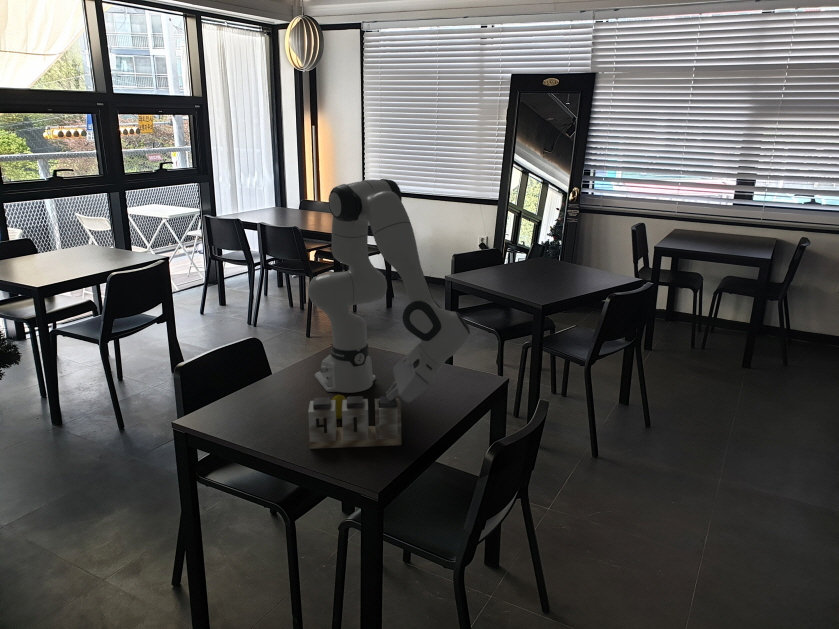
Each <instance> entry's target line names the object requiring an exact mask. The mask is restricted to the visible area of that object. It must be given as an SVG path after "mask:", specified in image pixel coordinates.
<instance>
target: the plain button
mask: <svg viewBox="0 0 839 629" xmlns="http://www.w3.org/2000/svg"><path fill="white" fill-rule="evenodd" d="M396 398H397V397H395V398H394V399H393V400H391V401H390V400H389V399H387V396H386V395H380V396H379V399H380V408H391V407H396Z"/></svg>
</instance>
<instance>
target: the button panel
mask: <svg viewBox="0 0 839 629" xmlns="http://www.w3.org/2000/svg"><path fill="white" fill-rule="evenodd" d="M395 398H396V407H391V408H380V398H374V414H375V415H374V417H375V418H374V422H375V425H370V426H369V400H368V399H369V398H364V396H361V395H359V396H347V397H346V399H347V400H343V402H342V418H341V420H342V422H341V423H342V427H341V426H340V427H339V426H338V425H337V418H336V400H332V399H331V397H330V396H328V397H327V396H326V397H314V398H313V400H310V401H309V406H308V410H307V415H308V433H309V449H311V450H312V449H337V448H360V447H362V448H363V447H387V446H388V447H389V446H390V445H391V446H403V445H402V444H403V443H402V406H401V397H395ZM337 426H338V427H337ZM391 446H390V447H391Z"/></svg>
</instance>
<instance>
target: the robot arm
mask: <svg viewBox="0 0 839 629" xmlns="http://www.w3.org/2000/svg"><path fill="white" fill-rule="evenodd" d="M402 198H403V196H402V191H401V189H400V186H399V184H397V182H396V181H394V180H392V179H387V178H380V179H366V180H361V181H355V182H350V183H342V184H339V185H337V186H335V187H333V188H332V189H331V190H330V193H329V195H328V208H329V212H330V214H331V215H332V222H331V254H332V257H333V259H335V260H336V261H337V262H339V263H341V264H343V265H346V266H348V270H346V271H337V272H327V273H323V274H320V275H317V276H314V277H313V278H312V279H311V280H310V282H309V284H308V287H307V294H308V297H309V300H310V301H311V303H312V304H313V305H314V306H315V307H317V308H318V309H320V310H321V311H322V312H323V313H324V314H326V317H327V318H328V320H329V321H330V325H331V326H330V327H331V332H332V343H331V344H329V345H330V348H331V350H330V354H329V355H327V356H326V357H325V358H324V359H322V361H321V365H320V368H319V369H320V370H318V371H317V372H316V373H314V378H315V379H316V380H317V382H318V383H319V384H320V385H321V386H322V388H323V389H324V390H325V392H329V393H331V392H333V393H334V392H337V393H347V394H348V393H350V394H352V393H359V392H364V391H367V390H369V389H370V388H372V387H373V384H374V381H375V380H376V378H377V377H376V375H375V374H373V372H374V371H373V365H372V364H373V363H372V357H371V356H369V343H368V340H367V338H368V336H367V323H366V321H365V319H364V318H363V317H362V316H360V315H358V314H355V313H353V312H350V310H349V307H350V306H354V305H360V304H361V305H362V304H370V303H374V302H376V301H379V300H382V299H383V298H384V297H385V295H386V293H387V289H388V283H387V279H386V276H385V275H384V273H382V272H381V271H380V270H379V269H377V267H375V266H374V265H373V263H372V262H371V259H370V256H369V248H368V239H369V237H368V236H369V227H370V230H371V233H372V236H373V239H374V242H375V245H376V247H377V249H378V252H380V254H381V256H382V258H383V259H384V260H385V261H386V262H387V263H388V264H389V265H390V266H391V267H392V268H393V269H394V270H395V271H396V272H397V273H398V275H399V277H400V278H401V280H402V282H403V285H404V287H405V290H406V293H407V295H408V299H409V301H410V302H409V304H408V305H407V306H406V307H405V308H404V310H403V313H402V323H403V325H404V327H405V329H406V330H407V331H408V332H409V333H410V334H412V335H414V336H415V337H416V338H417V339H419V340H420V342H418V344H417V345H416V346H415V347H414V348H413V349H412V350H410V352H409V353H407V354H406V355H404V357H402V358H401V359H400V360H399V361H398V362H397V363H396V364H395V365H394V367H393V368H392V373H393V377H394V381H393V382H392V384H391V386H390V387H389V389H388V390H387V391H386V392H385V396H387V399H389V400H390V401H391V400H393V399H394V398H397V397H398V396H399V398H400V399H402V400H403V401H404V402H406V403H407V404H408V403H411V402H413V401H414V400H416V399H417V398H418V397H419V396H420V395H422V393H423V392H425V390H426V389H427V388H428V386H429V385H431V386H432V385H433V384H435V382H436V381H437V378H438V377H437V376H438V373H439V371H440V370H441V368H442V367H443V366H444V364H445V363H446V361H447V360H448V359H449V358H451V357H453V356H454V355H456V353H457V352H458V351H460V349H461V348H462V347H463V345H464V344H465V343H467V341H468V339H469V337H470V334H471V331H470V327H469V325H468V323H467V321H466V320H465V319H464V317H462V315H461V314H460V313H459V312H457V311H451V310H447V309H444V308H442V307H441V305H439V304H438V303H437V301H436V300H435V299H434V297H433V295H432V293H431V291H430V287H429V285H428V283H427V279H426V277H425V273H424V271H423V269H422V266H421V260H420V256H419V251H418V246H417V241H416V240H417V239H416V236H415V233H414V229H413V226H412V225H413V224H412V223H411V220H410V216H409V215H408V212H407V210H406V208H405V206H404V204H403V202H402V200H403V199H402ZM369 225H370V226H369Z"/></svg>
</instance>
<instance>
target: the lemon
mask: <svg viewBox="0 0 839 629" xmlns="http://www.w3.org/2000/svg"><path fill="white" fill-rule="evenodd" d="M331 400H336V419H338V420H342V402H343V400H347V397H345V396H344V395H341V394H339V393H338V394H337V395H334V396H333V397H332V398H331Z"/></svg>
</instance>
